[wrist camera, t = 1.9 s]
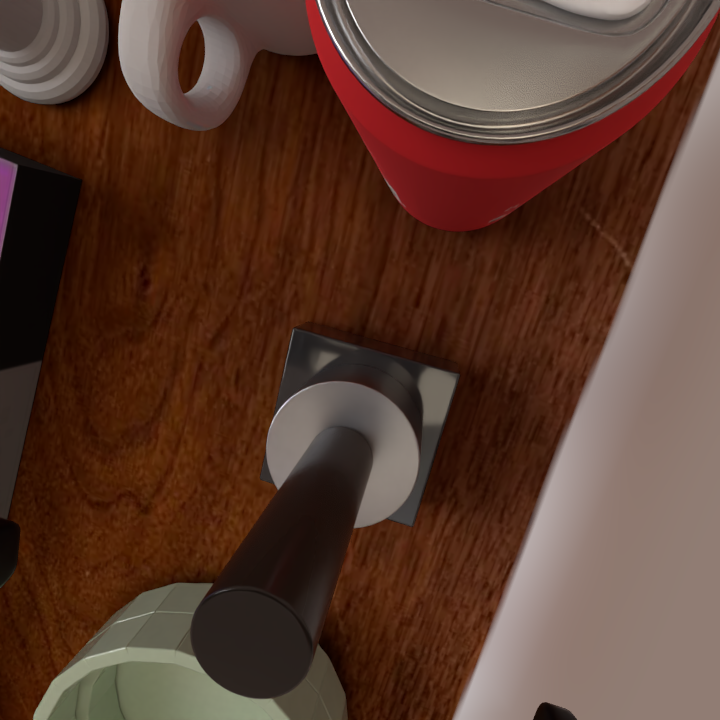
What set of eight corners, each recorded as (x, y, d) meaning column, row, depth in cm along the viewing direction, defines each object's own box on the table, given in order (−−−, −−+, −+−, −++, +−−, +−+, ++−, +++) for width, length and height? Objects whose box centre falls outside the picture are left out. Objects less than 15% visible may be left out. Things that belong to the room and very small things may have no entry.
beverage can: (432, 47, 16) (429, -517, 5) (569, 120, 16) (932, -274, 4) (360, 190, 17) (210, 38, 6) (485, 260, 17) (594, 247, 6)
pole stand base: (458, 362, 18) (461, 373, 16) (415, 502, 19) (413, 528, 17) (307, 320, 19) (292, 326, 17) (275, 459, 20) (258, 480, 18)
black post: (438, 385, 16) (445, 561, 7) (401, 509, 17) (360, 816, 8) (305, 348, 17) (127, 460, 7) (276, 470, 18) (89, 714, 8)
